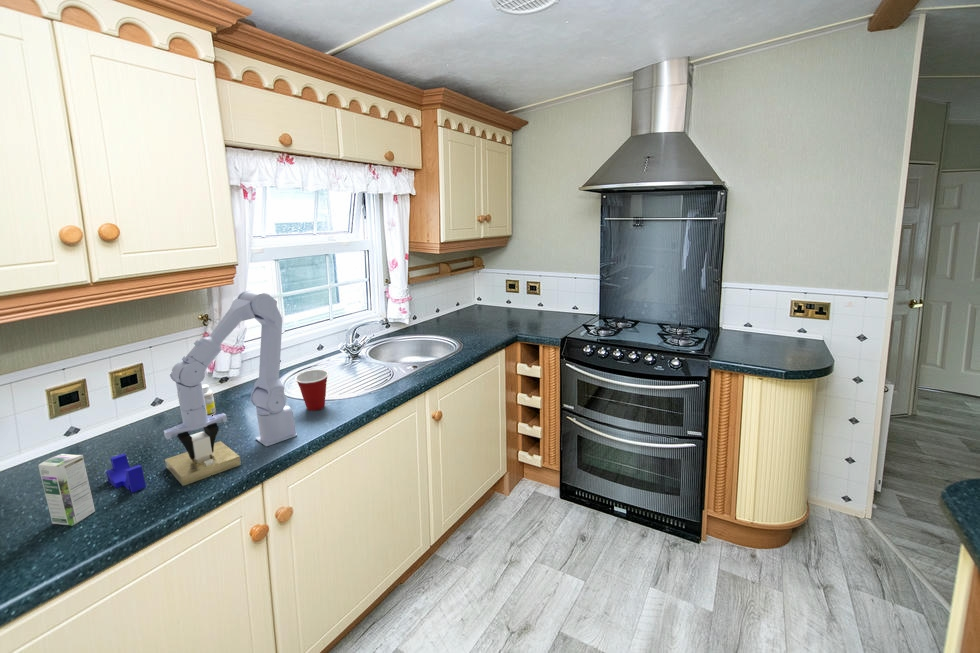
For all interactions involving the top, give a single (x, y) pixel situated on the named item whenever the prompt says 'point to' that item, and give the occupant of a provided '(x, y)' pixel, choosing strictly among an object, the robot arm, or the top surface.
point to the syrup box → (66, 489)
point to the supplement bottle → (209, 400)
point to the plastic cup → (313, 388)
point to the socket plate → (202, 464)
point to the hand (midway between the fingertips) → (201, 454)
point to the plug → (201, 446)
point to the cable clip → (125, 474)
